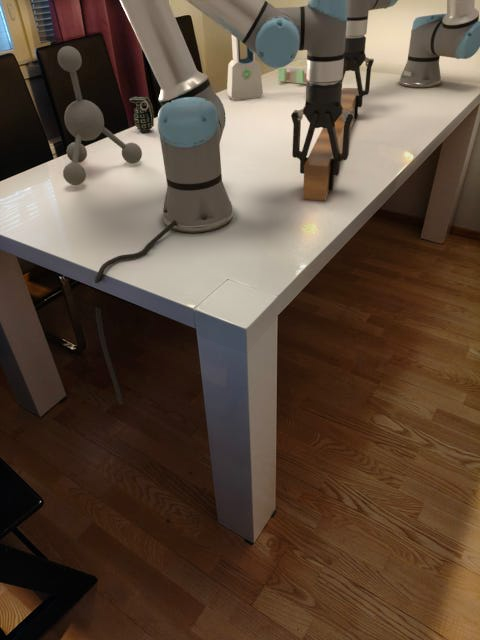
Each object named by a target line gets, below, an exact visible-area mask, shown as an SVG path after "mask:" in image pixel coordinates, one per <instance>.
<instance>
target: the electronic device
mask: <svg viewBox="0 0 480 640" xmlns="http://www.w3.org/2000/svg"><path fill="white" fill-rule="evenodd" d="M240 42H241V41H240V40H239V39H237V38H236V37H235V36H233V35H232V34H231V48H232V49H231V50H232V59H231V60H230V62H229V63H228V64H227V65H228V66H227V80H226V81H227V84H226V92H227V95H228V96H229V97H230V98H232V100H234V101H240V100H247V99H249V100H250V99H255V98H256V99H257V98H261V97H262V95H263V94H264V91H263V82H262V81H263V80H262V73H261V65H260V63H259V61H257V60H256V53H255V52H251V51H250V50H249V48H248V47H247V46H246V57H244V58H241V45H240V44H241V43H240Z"/></svg>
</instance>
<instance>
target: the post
mask: <svg viewBox="0 0 480 640" xmlns="http://www.w3.org/2000/svg"><path fill="white" fill-rule="evenodd" d="M357 95H359V94H358V88H357V87H342V94H341V105H342V108H343V110H345V111H347V112H351V111H352V112H354V116H355V105H356V97H357ZM354 116H353V119H352V121H351V126H350V131H352V127H353V125H354V122H355V119H354ZM344 124H345V123H344V122H343V121H342V116H341V115H340V117H339V118H338V119H337V120H336V122H335V130H336V135H337V140H338V146H339V151H340V154H341V153H342V150H343V132H344ZM307 158H308V159H307V161H306V163H305V165H304V174H303V192H302V200H308V201H319V202H320V201H321V202H323V201H324V202H325V201H327V198H328V195H329V192H330V190H329V177H330V163H331V160H332V159H333V154H332V149H331V144H330V139H329V134H328V131H327V128H322V129H321V130H320V133H319V135H318V137H317V139H316V141H315V143H314V145H313V147H312V149H311V151H310V153H309V155H308V156H307Z"/></svg>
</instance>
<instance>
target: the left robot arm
mask: <svg viewBox="0 0 480 640" xmlns="http://www.w3.org/2000/svg"><path fill="white" fill-rule="evenodd" d="M185 1H186V2H188V3H189V4H190V5H192V6H193V7H195V8H196V9H197V10H198V11H200V12H201V13H202V14H204V15H205V16H206V17H208V18H209V19H210V20H212V21H213V22H214V23H215V24H217V25H218V26H219V27H221V28H222V29H224V30H225V31H226V32H228V33H229V34H230V35H231V36H232V35H233V36H235V37H236V38H237V39H239V42H241V43H242V44H243V45H245V47H246V48H247V47H248V48H249V50H250V51H251V52H255V55H257V57H258V58H259V60H260V61H261V62H262V63H263V64H264V65H266V66H267V67H269V68H272V69H279V68H281V67H284V66H286V65H288V64H289V63H291V62H294V60H295V59H296V56H297V54H298V52H299V51H307V53H306V58H307V70H306V79H307V80H308V81H309V82H307V84H305V103H304V106H303V108H301V109H299V110H298V109H294V110H293V111H292V113H291V116H290V117H291V120H292V121H291V122H292V124H293V125H292V127H293V130H292V152H291V153H292V155H291V156H292V158H295V159H298V160H299V173H300V174H302V175H304V165H305V163H306V161H307V159H308V153H309V150H310V148H311V144H312V141H313V137H314V134H315V130H316V129H319V128H322V129H323V128H327V131H328V134H329V139H330V144H331V149H332V154H333V159H332V160H331V163H330V177H329V191H333V189H334V183H335V176H336V177H337V176H339V173H340V165H341V162H342V161H347V159H348V157H349V154H350V139H351V130H350V126H351V121H352V119H353V116H354V112H352V111H351V112H347V111H345V110H343V108H342V105H341V94H342V89H343V82H342V83H341V81H340V80H341V79H342V78H343V66H344V51H345V40H346V28H347V21H348V20H347V0H308V2H307V5H303V6H289V7H288V6H287V7H275V6H273V4H271V3H269V2H268V1H267V0H185ZM119 2H120V4H121V7H122V8H123V11H124V12H125V15H126V18H127V19H128V21H129V24H130V25H131V27H132V30H133V32H134V34H135V36H136V38H137V41H138V43H139V45H140V47H141V50H142V51H143V53H144V55H145V58H146V60H147V62H148V64H149V66H150V68H151V71H152V72H153V75H154V78H155V79H156V81H157V83H158V85H159V87H160V93H159V96H158V102H159V104H160V106H161V107H160V108H159V110H158V113H157V130H158V135H159V139H160V147H161V153H162V159H163V168H164V174H165V180H166V190H165V191H166V192H165V196H164V203H163V207H162V218H163V222H164V224H165V228H164V229H163V230H161V231H160V232H159V233H158V234H157V235H156V236H155V237H153V238H152V239H151V240H150V241H149V242H148V243H147V244H146V245H145V247H144V248H143V249H142V250H140V251H138V252H135V253H129V254H121V255H118V256H115V257H113V258H111V259H108V260H107V261H105V262H104V263H103V264H101V266H100V268H99V270H98V272H97V274H96V276H95V279H94V283H95V284H99V283H100V282H101V280H102V277H103V274H104V272H105V271H106V269H107V268H108V267H109V266H111V265H113V264H115V263H117V262H119V261H123V260H131V259H136V258H140V257H142V256H144V255H145V254H147V252H148V251H149V250H150V248H152V246H153V245H155V244H156V243H157V242H158V241H159V240H160V239H162V237H163V236H165V235H166V234H167V233H168V232H169V231H170V230H173V231H177V232H180V233H190V234H191V233H192V234H193V233H194V234H195V233H196V234H197V233H205V232H206V233H207V232H210V231H215V230H216V229H220V228H222V227H224V226H226V225H227V224H228V223H230V221H231V220H232V218H233V216H234V212H233V211H234V210H233V205H232V201H231V200H230V197H229V195H228V192H227V190H226V187H225V184H224V182H223V175H222V174H223V173H222V161H221V147H220V146H221V140H222V136H223V133H224V130H225V126H226V121H227V120H226V118H227V117H226V110H225V106H224V104H223V102H222V99H221V98H220V97H219V95H217V94H216V92H214V89H213V86H212V84H211V81H210V80H209V77H208V75H207V74H205V73H203V72H200V71H199V70H198V69H197V67H196V64H195V61H194V59H193V56H192V54H191V52H190V50H189V47H188V46H187V43H186V40H185V38H184V35H183V32H182V31H181V29H180V26H179V24H178V21H177V19H176V16H175V14H174V12H173V9H172V7H171V4H170V2H169V0H119ZM343 79H344V78H343ZM340 115H341V116H342V121H343V122H344V123H345V124H344V132H343V150H342V153H341V154H340V151H339V146H338V140H337V135H336V130H335V122H336V120H337V119H338V118H339V117H340ZM304 116H305V118H306V120H307V121H308V123H309V125H308V129H307V132H306V136H305V140H304V143H303V147H302V149H301V148H300V147H301V129H302V128H301V127H302V120H303V118H304ZM300 149H301V150H300ZM94 308H95V316H96V317H95V318H96V324H97V331H98V336H99V340H100V344H101V348H102V353H103V355H104V359H105V362H106V365H107V368H108V372H109V374H110V378H111V380H112V381H111V382H112V383H113V386H114V391H115V395H116V399H117V401H118V404H119V405H120V406H122V405H123V404H124V401H123V397H122V393H121V390H120V389H121V388H120V386H119V383H118V380H117V376H116V373H115V370H114V367H113V364H112V360H111V357H110V354H109V350H108V347H107V342H106V337H105V332H104V327H103V321H102V313H101V308H100V307H97V306H95V307H94Z"/></svg>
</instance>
